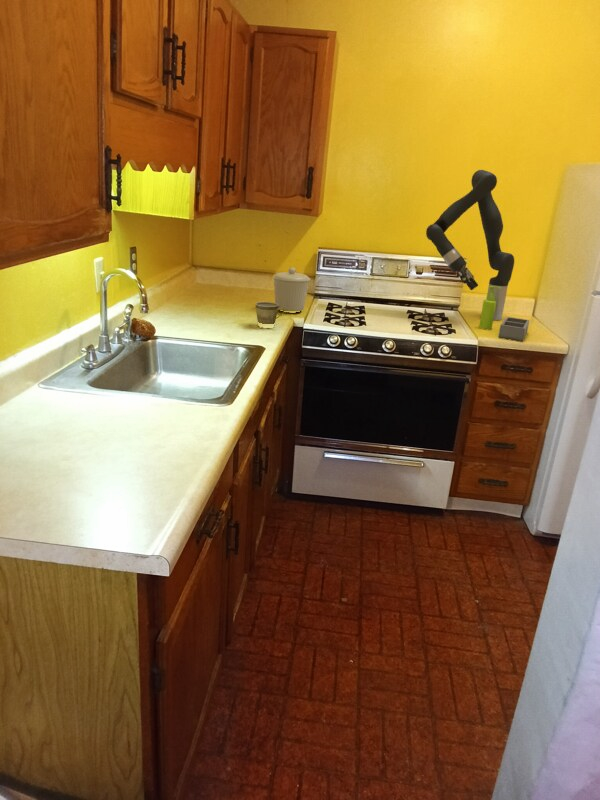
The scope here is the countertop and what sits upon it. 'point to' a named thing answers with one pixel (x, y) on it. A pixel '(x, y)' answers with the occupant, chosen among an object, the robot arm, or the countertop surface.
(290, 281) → the canister
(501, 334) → the caddy
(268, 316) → the ceramic cup
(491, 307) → the soap dispenser
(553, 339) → the countertop surface
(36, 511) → the countertop surface
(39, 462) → the countertop surface
